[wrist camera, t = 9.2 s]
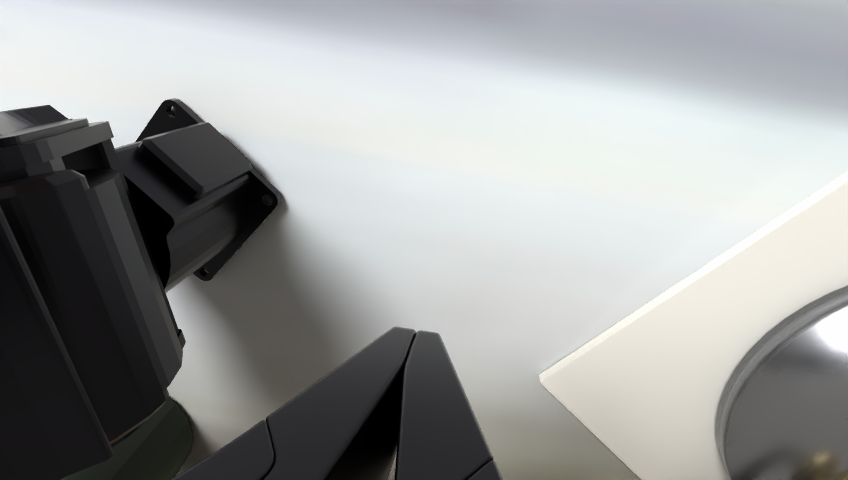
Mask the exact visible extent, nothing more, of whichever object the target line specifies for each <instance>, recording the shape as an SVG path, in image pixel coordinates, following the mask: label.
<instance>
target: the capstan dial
mask: <svg viewBox="0 0 848 480" xmlns="http://www.w3.org/2000/svg"><path fill="white" fill-rule="evenodd" d="M716 438H717V444H718V450H719V453H720V456H721V458H722V461H723V464H724V466H725V468H726V470H727V472H728V474H729V476H730V477H731V479H732V480H848V286H845V287H843V288H840V289H837V290H835V291H832V292H830V293H828V294H826V295H824V296H822V297H820V298H819V299H817V300H815V301H813V302H811V303H809V304H807V305H805V306H804V307H802V308H801V309H799V310H797V311H796V312H794V313H793V314H791V315H790V316H788V317H786V318H785V319H784V320H782V321H781V322H780V323H779V324H777V325H776V326H775V327H774V328H772V329H771V330H770V331H769V332H767V333H766V334H765V335H764V336H763V337H762V338H761V339H760V340H759V341H758V342H757V343H756V344H755V345H754V346H753V347H752V348H751V349H750V350H749V351H748V353H747V354H746V355H745V356H744V358H743V359H742V360H741V362H740V363H739V364H738V365H737V367H736V368H735V370H734V372H733V374H732V375H731V377H730V379H729V380H728V382H727V384H726V386H725V389H724V392H723V394H722V397H721V399H720V403H719V407H718V412H717V417H716Z"/></svg>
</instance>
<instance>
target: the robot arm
mask: <svg viewBox="0 0 848 480" xmlns="http://www.w3.org/2000/svg"><path fill="white" fill-rule="evenodd" d="M172 106H173V107H174V108H175V109H176V112H177V114H176V115H174V114H173V113H172V110H171V108H172ZM113 137H114V136H113V134H112V131H111V128H110V125H109V122H108V121H106V122H97V123H88V120H87V119H75V120H72V119H68V118H66V117H65V116H64V115H62V114H61V113H59V112H58V111H57V110H55V109H54V108H53V107H51V106H50V105H45V106H37V107H29V108H22V109H15V110H9V111H2V112H0V480H61V479H63V478H65V477H67V476H69V475H71V474H74V473H76V472H79V471H81V470H84V469H86V468H89V467H92V466H94V465H97V464H99V463H102V462H104V461H106V460H108V459H109V458H111V457H112V455H113V454H114V451H113V449H112V447H114V446H116V445H117V444H119V443H120V442H122V441H123V440H125V439H126V438H128V437H129V436H130V435H131V434H133V433H134V432H135V431H136V430H138V429H139V428H140V427H141V426H142V425H143V424H144V423H145V421H146V420H148V419H149V418H150V417H151V416H152V415H153V414H154V413H155V412H156V411H157V410H159V409H160V408H161V407H162V406H163V404H164V403H165V402H166V400H167V399H168V397H169V393H168V391H167V387H168V386H169V385H170V383H171V382H172V380H173V379H174V377H175V375H176V374H177V372H178V371H179V369H180V368H181V366H182V356H183V350H182V349H183V347H184V345H185V343H186V341H185V338H184V335H183V333H182V330H181V329H178V327H177V324H176V321H175V318H174V316H173V313H172V310H171V307H170V304H169V302H168V299H167V296H166V293H167V292H168V291H169V290H171V289H172V288H173V287H175V286H176V285H177V284H179V283H180V282H181V281H182V280H184V279H185V278H186V277H188V276H189V275H190V274H192V273H193V274H195V275H196V276H197V277H198V278H199V279H201V280H204V281H209V280H211V279H212V278H213V277H214V276H216V275H217V274H218V272H219V271H220V270H221V269H222V268H223V267H224V266H225V265H226V264H227V262H228V261H229V260H230V259H231V258H232V257H233V256H234V255H235V254H236V253H237V251H238V250H239V249H240V248H241V247H242V246H243V245H244V244H245V243H246V241H247V240H248V239H249V238H250V237H251V236H252V235H253V234H254V233H255V232H256V230H257V229H258V228H259V227H260V226H261V225H262V224H263V223H264V222H265V220H266V219H267V218H268V217H269V216H270V215H271V214H272V213H273V212H274V211H275V209H276V208H277V207H278V206H279V205H280V203H281V195H280V193H279V192H278V190H277V189H276V188H274V187H273V186H272V185H271V184H270V183H269V182H268V181H267V180H266V179H265V178H264V177H263V176H262V175H260V174H259V173H258V172H257V171H256V170H255V169H254V168H253V167H252V166H251V162H250V161H249V160H248V159H247V158H246V157H245V156H244V155H243V154H242V153H241V152H240V151H239V150H238V149H236V148H235V147H234V146H233V145H232V144H231V143H230V142H229V141H228V140H227V139H226V138H225V137H224V136H223V135H221V134H220V133H219V132H218V131H217V130H216V129H215V128H214V127H213V126H212V125H211V124H209V123H205V122H204V121H202V120H201V119H200V118H199V117H198V116H197V115H196V114H195V113H194V112H193V111H192V110H191V109H190V108H188V107H187V106H186V105H185V104H184V103H183V102H182V101H180V100H179V99H169V100H165V101H164V102H163V103H162V104H161V105H160V107H159V108H158V110H157V111H156V112H155V114H154V115H153V117H152V118H151V120H150V121H149V123H148V124H147V126H146V127H145V129H144V130H143V131H142V133H141V134H140V136H139V137H138V139H137V140H136V142H135V143H132V144H128V145H125V146H121V147H118V148H114V146H113V144H112V141H111V138H113ZM266 195H269V196H271V197H272V199H273V203H270V202H269V201H268V200H267V199H266ZM204 268H206V269H207V270H208V272H209V273H207V272H205V270H204ZM396 451H397V455H396ZM395 455H396V468H395V480H503V478H502V476H501V474H500V472H499V469H498V467H497V465H496V463H495V461H493V456H492V454H491V451H490V449H489V447H488V445H487V442H486V440H485V438H484V435H483V433H482V431H481V428H480V426H479V424H478V422H477V419H476V417H475V415H474V412H473V410H472V408H471V406H470V403H469V401H468V399H467V396H466V394H465V392H464V389H463V387H462V385H461V383H460V380H459V378H458V376H457V373H456V371H455V369H454V366H453V364H452V362H451V360H450V357H449V355H448V353H447V350H446V348H445V346H444V343H443V341H442V339H441V337H440V335H439V334H438V333H435V332H428V331H417V333H416V332H415V330H413V329H408V328H401V327H393V328H392V329H390V330H389V331H387V332H386V333H385V334H383V335H382V336H380V337H379V338H378V339H376V340H375V341H373V342H372V343H370V344H369V345H368V346H366V347H365V348H363V349H362V350H361V351H359V352H358V353H356V354H355V355H354V356H352V357H351V358H349V359H348V360H347V361H345V362H344V363H342V364H341V365H340V366H338V367H337V368H335V369H334V370H333V371H331V372H330V373H328V374H327V375H326V376H324V377H323V378H321V379H320V380H318V381H317V382H316V383H314V384H313V385H311V386H310V387H309V388H307V389H306V390H304V391H303V392H302V393H300V394H299V395H297V396H296V397H295V398H293V399H292V400H290V401H289V402H288V403H286V404H285V405H283V406H282V407H281V408H279V409H278V410H276V411H275V412H273V413H272V414H271V415H269V416H268V417H267V418H266V421H265V420H262V421H261V422H259V423H258V424H256V425H255V426H253V427H252V428H251V429H249V430H248V431H246V432H245V433H244V434H242V435H241V436H239V437H238V438H236V439H235V440H233V441H232V442H230V443H229V444H227V445H226V446H224V447H223V448H221V449H220V450H218V451H217V452H215V453H214V454H212V455H210V456H209V457H207V458H206V459H204V460H202V461H201V462H199V463H197V464H196V465H194V466H192V467H191V468H189V469H188V470H186V471H184V472H183V473H181V474H179V475H178V476H176V477H174V478H172V479H171V480H387V479H388V476H389V473H390V470H391V468H392V464H393V461H394V458H395Z"/></svg>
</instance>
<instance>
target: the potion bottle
mask: <svg viewBox="0 0 848 480" xmlns="http://www.w3.org/2000/svg"><path fill="white" fill-rule="evenodd" d="M192 440H193V435H192V431H191V427H190V424H189V421H188V418H187V416H186V415H185V414H184V412H183V411H182V410H181V408H180V407H179V406H178V404H177V403H176V402H175V401H173V400H172V399H171V398H169V397H168V399H167V400H166V402H165V403H164V404H163V406H162V407H161V408H160V409H159V410H157V411H156V412H155V413H154V414H153V415H152V416H151V417H150V418H149V419H148V420H146V421H145V423H144V424H143V425H142V426H141V427H140V428H139V429H138V430H136V431H135V432H134V433H133V434H131V435H130V436H129V437H128V438H126V439H125V440H123V441H122V442H120V443H119V444H117V445H116V446H114V447H112V449H113V451H114V454H113V455H112V457H111V458H109V459H108V460H106V461H104V462H102V463H99V464H97V465H94V466H92V467H89V468H86V469H84V470H81V471H79V472H76V473H74V474H71V475H69V476H67V477H65V478H63V479H61V480H171V479H172V478H174V477H175V476H176V474H177V473H178V471H179V470H180V468H181V466H182V465H183V463H184V462H185V460H186V458H187V457H188V455H189V453H190V452H191V446H192Z"/></svg>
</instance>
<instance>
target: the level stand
mask: <svg viewBox="0 0 848 480" xmlns="http://www.w3.org/2000/svg"><path fill="white" fill-rule="evenodd" d="M845 286H848V171H847V172H845V173H844V174H842V175H841V176H839V177H838V178H836V179H835V180H833V181H832V182H830V183H829V184H827V185H826V186H824V187H823V188H821V189H820V190H818V191H817V192H815V193H814V194H812V195H811V196H809V197H808V198H806V199H805V200H803V201H802V202H800V203H799V204H797V205H795V206H794V207H792V208H791V209H789V210H788V211H786V212H785V213H783V214H782V215H780V216H779V217H777V218H776V219H774V220H773V221H771V222H770V223H768V224H767V225H765V226H764V227H762V228H761V229H759V230H758V231H756V232H755V233H753V234H752V235H750V236H749V237H747V238H746V239H744V240H742V241H741V242H739V243H738V244H736V245H735V246H733V247H732V248H730V249H729V250H727V251H726V252H724V253H723V254H721V255H720V256H718V257H717V258H715V259H714V260H712V261H711V262H709V263H708V264H706V265H705V266H703V267H702V268H700V269H699V270H697V271H696V272H694V273H693V274H691V275H690V276H688V277H686V278H685V279H683V280H682V281H680V282H679V283H677V284H676V285H674V286H673V287H671V288H670V289H668V290H667V291H665V292H664V293H662V294H661V295H659V296H658V297H656V298H655V299H653V300H652V301H650V302H649V303H647V304H646V305H644V306H643V307H641V308H640V309H638V310H637V311H635V312H633V313H632V314H630V315H629V316H627V317H626V318H624V319H623V320H621V321H620V322H618V323H617V324H615V325H614V326H612V327H611V328H609V329H608V330H606V331H605V332H603V333H602V334H600V335H599V336H597V337H596V338H594V339H593V340H591V341H590V342H588V343H587V344H585V345H584V346H582V347H580V348H579V349H577V350H576V351H574V352H573V353H571V354H570V355H568V356H567V357H565V358H564V359H562V360H561V361H559V362H558V363H556V364H555V365H553V366H552V367H550V368H549V369H547V370H546V371H544V372H543V373H541V374H540V375H539V377H540V383H541V384H542V385H543V386H544V387H545V388H546V389H547V390H548V391H549V392H550V393H552V394H553V395H554V396H555V397H556V398H557V399H558V400H559V401H560V402H561V403H562V404H563V405H564V406H565V407H566V408H567V409H568V410H569V411H570V412H571V413H572V414H573V415H574V416H576V417H577V418H578V419H579V420H580V421H581V422H582V423H583V424H584V425H585V426H586V427H587V428H588V429H589V430H590V431H591V432H592V433H593V434H594V435H595V436H596V437H597V438H598V439H600V440H601V441H602V442H603V443H604V444H605V445H606V446H607V447H608V448H609V449H610V450H611V451H612V452H613V453H614V454H615V455H616V456H617V457H618V458H619V459H620V460H621V461H622V462H624V463H625V464H626V465H627V466H628V467H629V468H630V469H631V470H632V471H633V472H634V473H635V474H636V475H637V476H638V477H639V478H640V479H641V480H732V479H731V477H730V476H729V474H728V472H727V470H726V468H725V466H724V464H723V461H722V458H721V456H720V453H719V450H718V444H717V438H716V417H717V412H718V407H719V403H720V399H721V397H722V394H723V392H724V389H725V386H726V384H727V382H728V380H729V379H730V377H731V375H732V374H733V372H734V370H735V368H736V367H737V365H738V364H739V363H740V362H741V360H742V359H743V358H744V356H745V355H746V354H747V353H748V351H749V350H750V349H751V348H752V347H753V346H754V345H755V344H756V343H757V342H758V341H759V340H760V339H761V338H762V337H763V336H764V335H765V334H766V333H767V332H769V331H770V330H771V329H772V328H774V327H775V326H776V325H777V324H779V323H780V322H781V321H782V320H784V319H785V318H786V317H788V316H790V315H791V314H793V313H794V312H796V311H797V310H799V309H801V308H802V307H804V306H805V305H807V304H809V303H811V302H813V301H815V300H817V299H819V298H820V297H822V296H824V295H826V294H828V293H830V292H832V291H835V290H837V289H840V288H843V287H845Z"/></svg>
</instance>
